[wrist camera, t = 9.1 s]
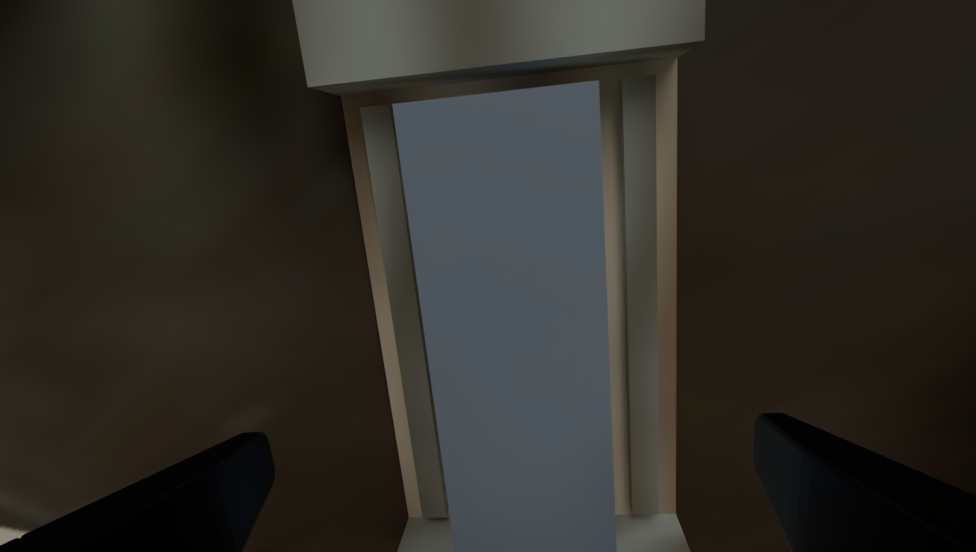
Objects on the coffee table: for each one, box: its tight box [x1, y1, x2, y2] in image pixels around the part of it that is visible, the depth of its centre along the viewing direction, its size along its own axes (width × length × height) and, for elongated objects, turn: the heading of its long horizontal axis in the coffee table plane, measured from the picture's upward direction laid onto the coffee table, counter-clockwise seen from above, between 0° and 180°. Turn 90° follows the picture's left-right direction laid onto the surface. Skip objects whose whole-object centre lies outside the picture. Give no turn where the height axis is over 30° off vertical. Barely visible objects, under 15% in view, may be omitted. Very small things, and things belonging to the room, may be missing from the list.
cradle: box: [292, 0, 705, 552], centre depth 17 cm, size 11×23×4 cm, turn 5°
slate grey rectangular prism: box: [392, 80, 617, 552], centre depth 15 cm, size 4×14×6 cm, turn 6°
